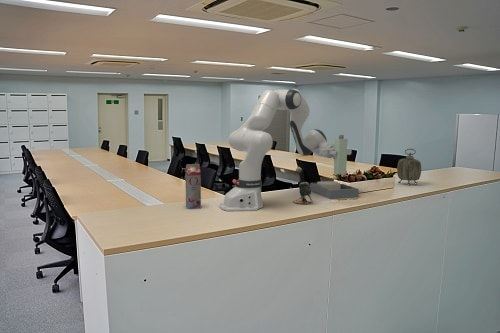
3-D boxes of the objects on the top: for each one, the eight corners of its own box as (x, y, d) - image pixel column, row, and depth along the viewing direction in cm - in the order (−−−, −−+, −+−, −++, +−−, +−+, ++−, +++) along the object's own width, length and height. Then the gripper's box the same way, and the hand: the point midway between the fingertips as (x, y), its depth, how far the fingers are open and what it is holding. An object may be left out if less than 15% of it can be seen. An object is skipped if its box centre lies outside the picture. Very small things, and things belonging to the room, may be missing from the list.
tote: (330, 201, 215) (330, 190, 215) (310, 192, 238) (310, 183, 237) (358, 199, 221) (358, 188, 220) (336, 191, 244) (336, 181, 243)
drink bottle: (338, 174, 219) (339, 135, 216) (333, 173, 224) (335, 134, 221) (346, 174, 221) (347, 135, 218) (341, 172, 225) (342, 134, 222)
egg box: (322, 194, 229) (322, 183, 229) (316, 191, 237) (316, 181, 236) (340, 192, 233) (340, 183, 232) (333, 190, 241) (333, 180, 240)
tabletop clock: (418, 184, 272) (420, 148, 269) (420, 186, 264) (423, 149, 260) (396, 183, 276) (398, 147, 272) (398, 185, 267) (400, 149, 264)
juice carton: (200, 208, 195) (200, 164, 192) (187, 209, 193) (187, 165, 190) (198, 205, 201) (198, 163, 199) (185, 206, 200) (185, 163, 197)
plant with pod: (304, 206, 202) (305, 168, 200) (290, 202, 212) (291, 165, 209) (315, 204, 207) (317, 167, 204) (301, 200, 216) (302, 165, 213)
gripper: (313, 145, 229) (325, 147, 216) (343, 144, 235) (357, 146, 222) (313, 156, 230) (324, 158, 217) (343, 155, 236) (356, 157, 223)
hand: (341, 152), depth 220 cm, fingers closed on drink bottle, 5 cm apart
